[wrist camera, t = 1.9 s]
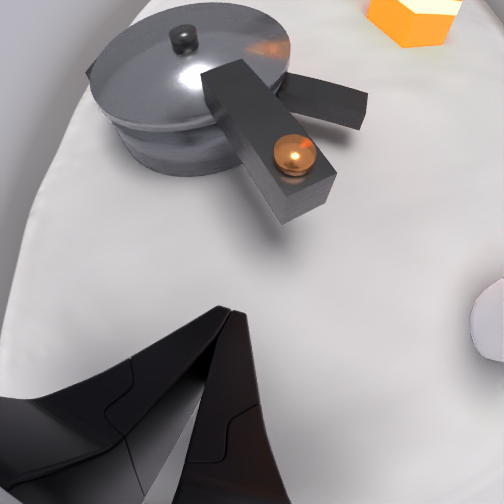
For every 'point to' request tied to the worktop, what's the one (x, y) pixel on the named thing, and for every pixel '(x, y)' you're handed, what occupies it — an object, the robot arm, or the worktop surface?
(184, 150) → the cooker pot
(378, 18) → the orange juice
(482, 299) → the foam cup
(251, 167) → the cooker lid
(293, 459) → the worktop surface
